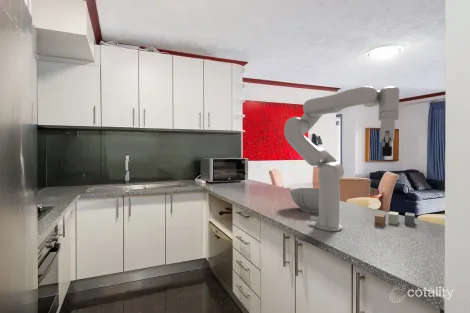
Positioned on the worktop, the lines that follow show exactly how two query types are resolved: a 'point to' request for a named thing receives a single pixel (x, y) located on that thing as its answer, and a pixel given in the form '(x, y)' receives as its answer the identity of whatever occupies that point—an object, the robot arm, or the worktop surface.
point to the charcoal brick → (409, 218)
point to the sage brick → (393, 217)
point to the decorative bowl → (306, 198)
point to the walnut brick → (380, 219)
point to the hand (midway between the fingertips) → (387, 156)
